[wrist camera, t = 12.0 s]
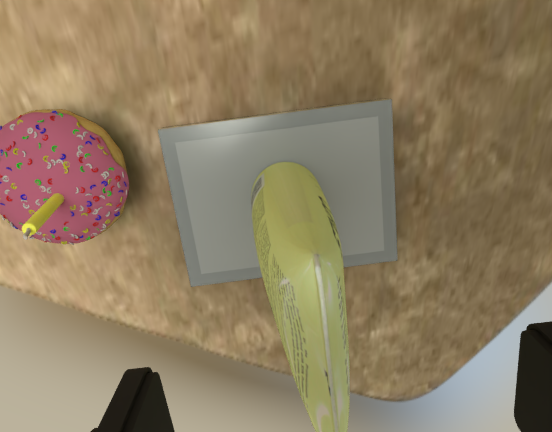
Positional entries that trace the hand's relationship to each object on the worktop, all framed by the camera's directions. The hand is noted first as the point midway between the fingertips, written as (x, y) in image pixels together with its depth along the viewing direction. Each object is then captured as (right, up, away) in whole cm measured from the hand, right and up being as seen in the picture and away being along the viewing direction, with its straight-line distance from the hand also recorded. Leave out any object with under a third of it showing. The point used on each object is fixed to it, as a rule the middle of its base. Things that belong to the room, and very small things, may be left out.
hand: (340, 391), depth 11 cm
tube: (-1, +6, +19) cm, 20 cm away
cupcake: (-15, +8, +20) cm, 26 cm away
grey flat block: (-1, +6, +20) cm, 21 cm away
